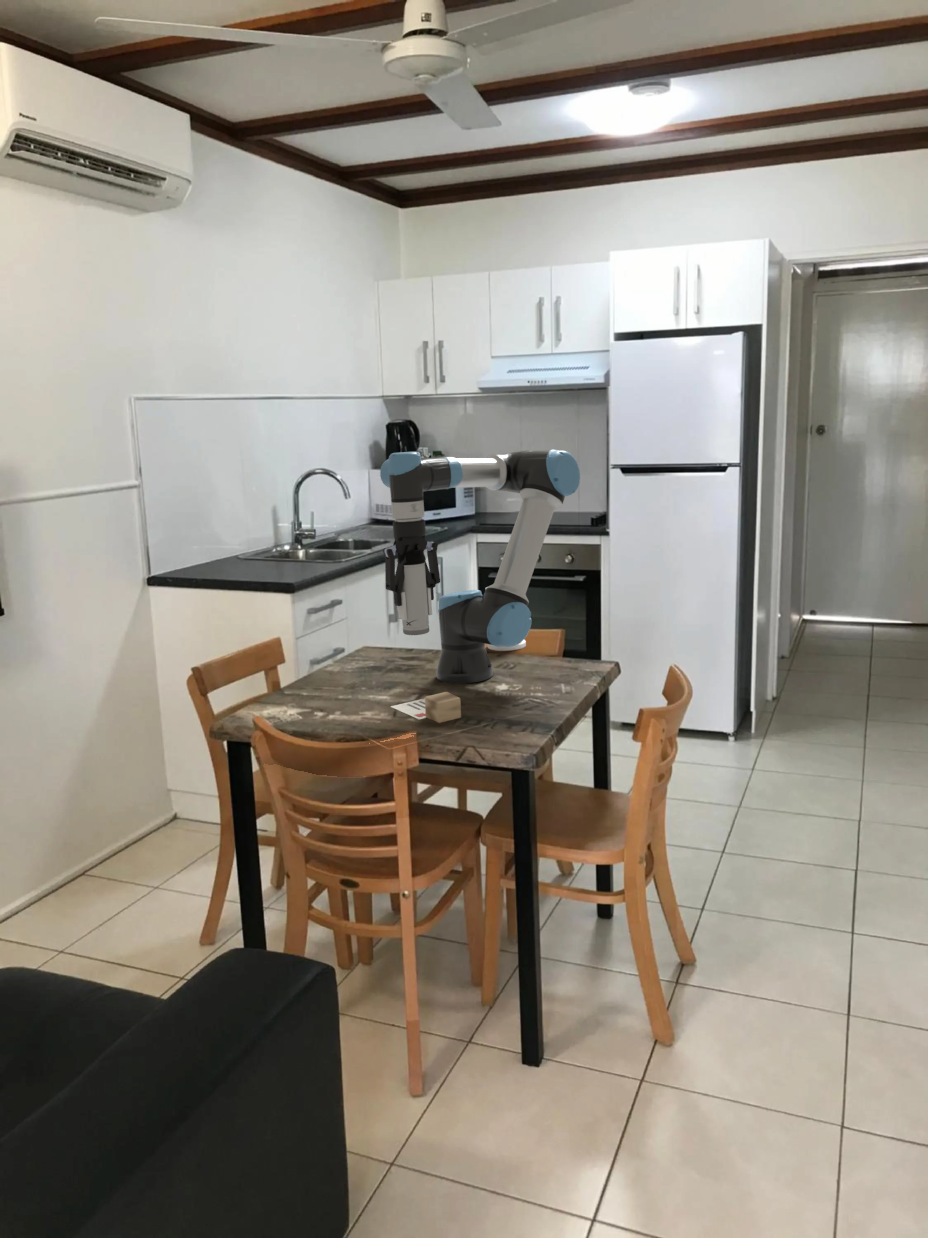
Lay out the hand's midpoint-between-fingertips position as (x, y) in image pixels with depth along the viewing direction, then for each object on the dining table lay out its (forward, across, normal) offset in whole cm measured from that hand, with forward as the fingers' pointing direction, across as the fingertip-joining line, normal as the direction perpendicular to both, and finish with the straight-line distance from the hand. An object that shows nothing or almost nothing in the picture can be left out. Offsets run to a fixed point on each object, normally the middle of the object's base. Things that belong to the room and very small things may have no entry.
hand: (415, 616), depth 237 cm
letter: (+23, 0, 0) cm, 23 cm away
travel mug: (+4, 0, 0) cm, 4 cm away
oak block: (+23, 0, -10) cm, 25 cm away
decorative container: (+23, +52, +38) cm, 68 cm away
